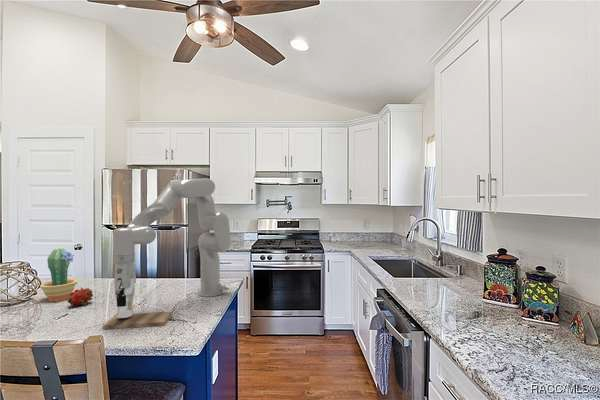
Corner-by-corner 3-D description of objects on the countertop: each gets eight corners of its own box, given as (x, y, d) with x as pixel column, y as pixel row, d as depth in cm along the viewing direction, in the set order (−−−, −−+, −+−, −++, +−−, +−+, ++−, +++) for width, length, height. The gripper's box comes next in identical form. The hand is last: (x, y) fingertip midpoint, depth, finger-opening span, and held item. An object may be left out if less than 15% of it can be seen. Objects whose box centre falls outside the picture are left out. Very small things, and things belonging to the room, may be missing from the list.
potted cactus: (45, 305, 152) (44, 252, 152) (35, 299, 162) (34, 249, 161) (83, 297, 164) (82, 247, 164) (71, 292, 174) (71, 245, 174)
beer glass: (138, 312, 134) (138, 276, 134) (128, 319, 127) (127, 280, 127) (122, 312, 135) (122, 276, 135) (111, 318, 128) (110, 280, 128)
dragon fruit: (95, 304, 159) (70, 316, 147) (83, 293, 160) (58, 304, 149) (100, 291, 156) (76, 302, 145) (88, 280, 158) (63, 290, 146)
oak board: (172, 314, 138) (172, 311, 138) (164, 325, 126) (164, 321, 126) (116, 318, 135) (116, 314, 135) (103, 329, 123) (103, 325, 123)
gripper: (125, 262, 123) (126, 310, 123) (141, 254, 140) (142, 296, 140) (104, 263, 122) (105, 311, 122) (122, 255, 139) (123, 297, 139)
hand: (125, 302), depth 131 cm, fingers closed on beer glass, 6 cm apart
